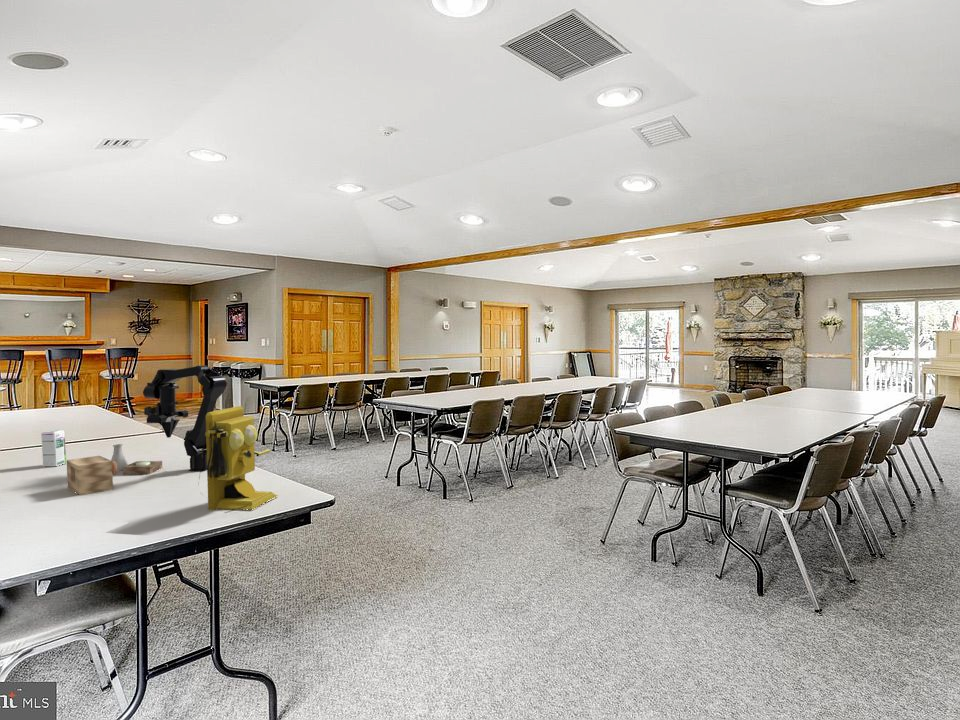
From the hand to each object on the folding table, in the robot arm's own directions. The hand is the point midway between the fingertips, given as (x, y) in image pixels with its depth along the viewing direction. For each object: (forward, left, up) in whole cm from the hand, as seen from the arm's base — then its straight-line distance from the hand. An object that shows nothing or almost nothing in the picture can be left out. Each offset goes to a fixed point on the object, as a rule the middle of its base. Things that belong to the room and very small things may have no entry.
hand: (168, 437), depth 237 cm
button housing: (+5, +9, -12) cm, 16 cm away
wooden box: (+6, +35, -12) cm, 38 cm away
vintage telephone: (-58, +48, -12) cm, 76 cm away
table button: (+5, +9, -12) cm, 16 cm away
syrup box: (+50, +2, -12) cm, 52 cm away
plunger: (+4, +32, -8) cm, 33 cm away
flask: (+18, +6, -12) cm, 23 cm away
